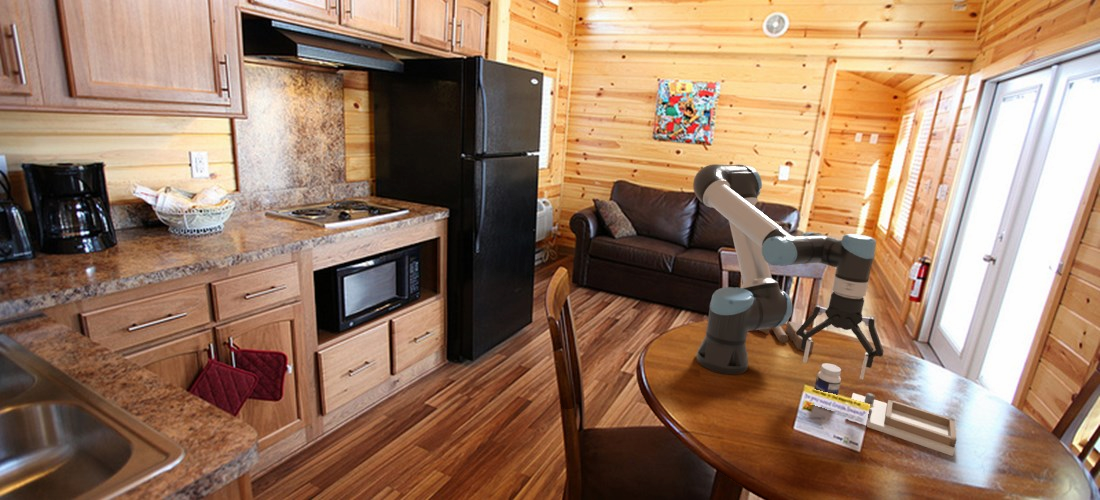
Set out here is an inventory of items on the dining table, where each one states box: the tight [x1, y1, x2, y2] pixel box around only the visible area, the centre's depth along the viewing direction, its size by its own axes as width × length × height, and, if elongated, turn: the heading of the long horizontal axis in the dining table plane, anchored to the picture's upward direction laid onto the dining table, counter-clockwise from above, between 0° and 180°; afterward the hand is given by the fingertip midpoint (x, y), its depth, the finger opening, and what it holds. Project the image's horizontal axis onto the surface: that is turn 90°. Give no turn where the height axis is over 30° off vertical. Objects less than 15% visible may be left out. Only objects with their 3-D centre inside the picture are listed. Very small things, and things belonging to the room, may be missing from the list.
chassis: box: [850, 392, 958, 457], centre depth 128 cm, size 22×14×4 cm, turn 54°
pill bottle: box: [813, 362, 842, 396], centre depth 136 cm, size 6×6×10 cm
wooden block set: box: [758, 321, 815, 354], centre depth 176 cm, size 17×6×18 cm
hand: (832, 369), depth 135 cm, fingers open, 13 cm apart
